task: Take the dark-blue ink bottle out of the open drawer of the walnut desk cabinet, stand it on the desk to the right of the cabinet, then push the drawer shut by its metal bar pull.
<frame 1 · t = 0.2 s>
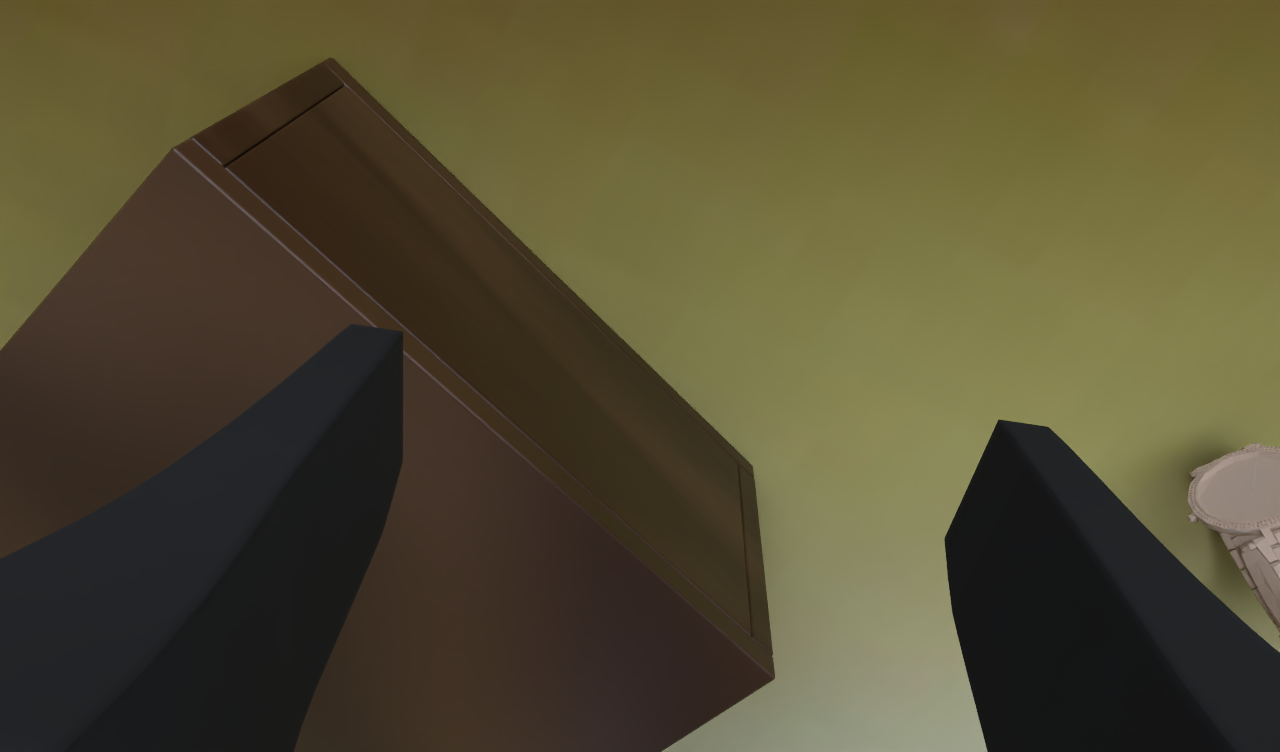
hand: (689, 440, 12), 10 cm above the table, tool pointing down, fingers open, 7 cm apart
wristwatch: (1224, 496, 25), on the table
cabinet: (360, 459, 25), on the table
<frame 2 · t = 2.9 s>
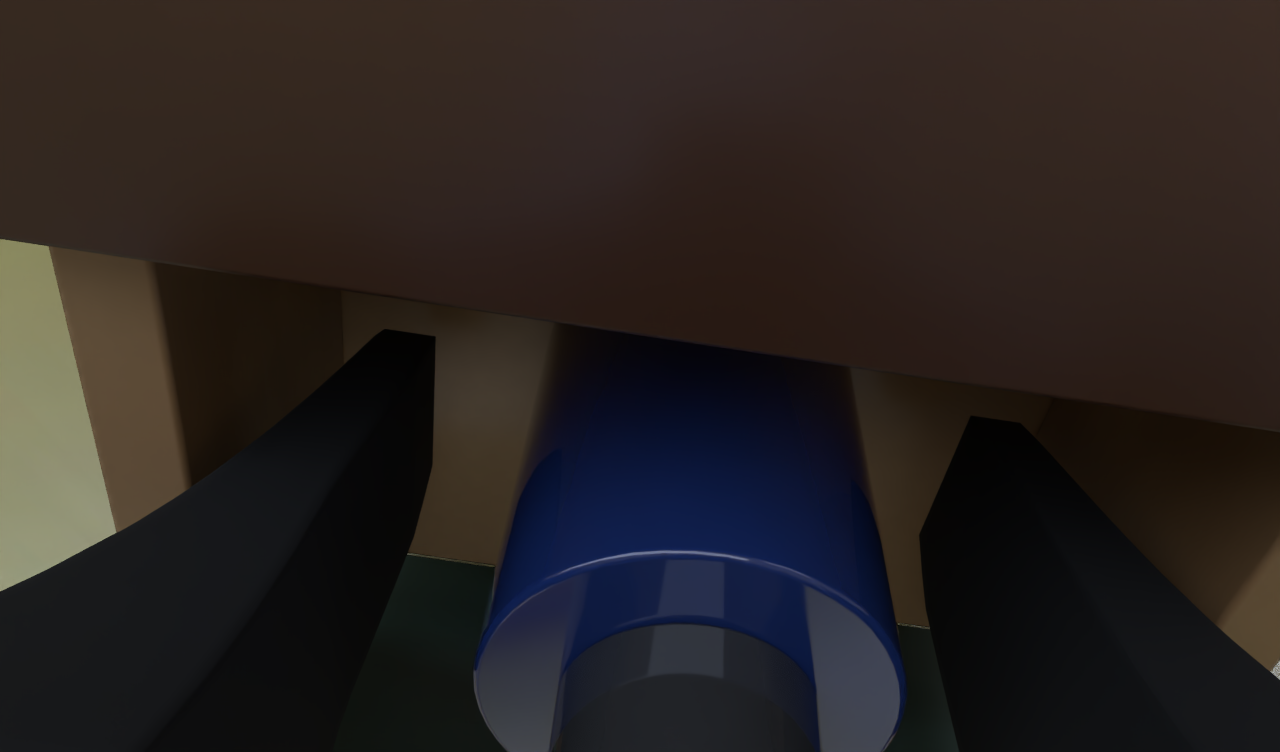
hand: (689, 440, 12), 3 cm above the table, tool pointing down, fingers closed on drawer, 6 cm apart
ink bottle: (695, 372, 14), point 2 cm above the table, touching drawer
drawer: (666, 578, 13), point 4 cm above the table, slide at 9.5 cm, touching gripper, ink bottle
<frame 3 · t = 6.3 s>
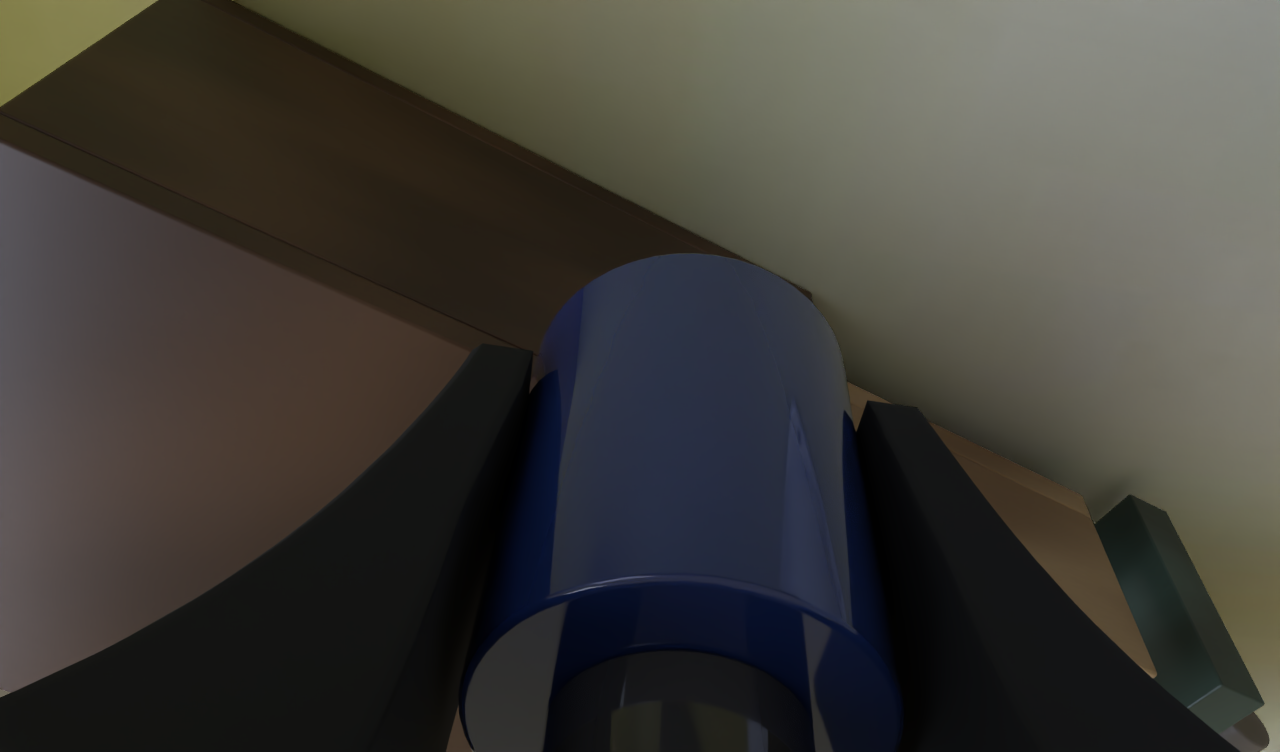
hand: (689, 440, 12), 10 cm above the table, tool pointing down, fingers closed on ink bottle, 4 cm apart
ink bottle: (689, 384, 13), point 9 cm above the table, touching gripper
cabinet: (416, 369, 25), on the table
drawer: (885, 673, 25), point 4 cm above the table, slide at 9.5 cm
when the fingers open (1 cm above the table, at t = 9.5 s): ink bottle stays where it is, on the table.
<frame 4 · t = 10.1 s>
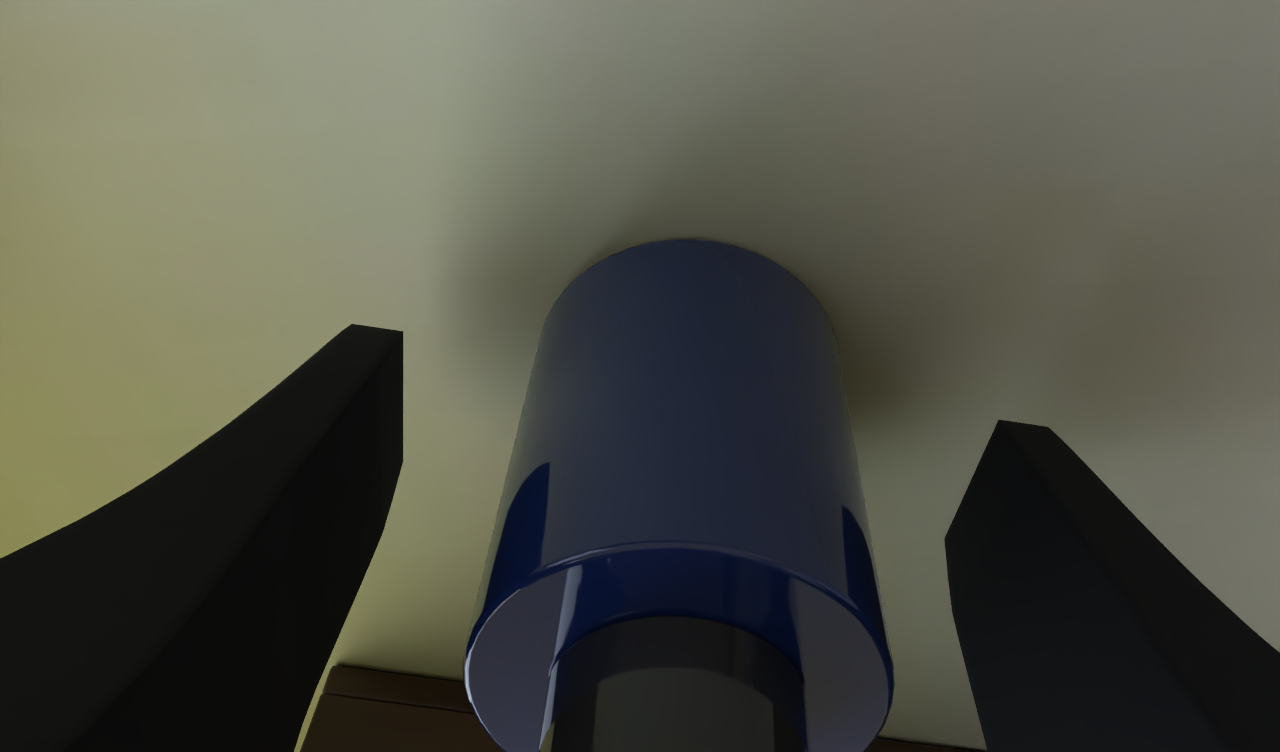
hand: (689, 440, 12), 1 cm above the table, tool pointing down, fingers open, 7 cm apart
ink bottle: (686, 368, 14), on the table
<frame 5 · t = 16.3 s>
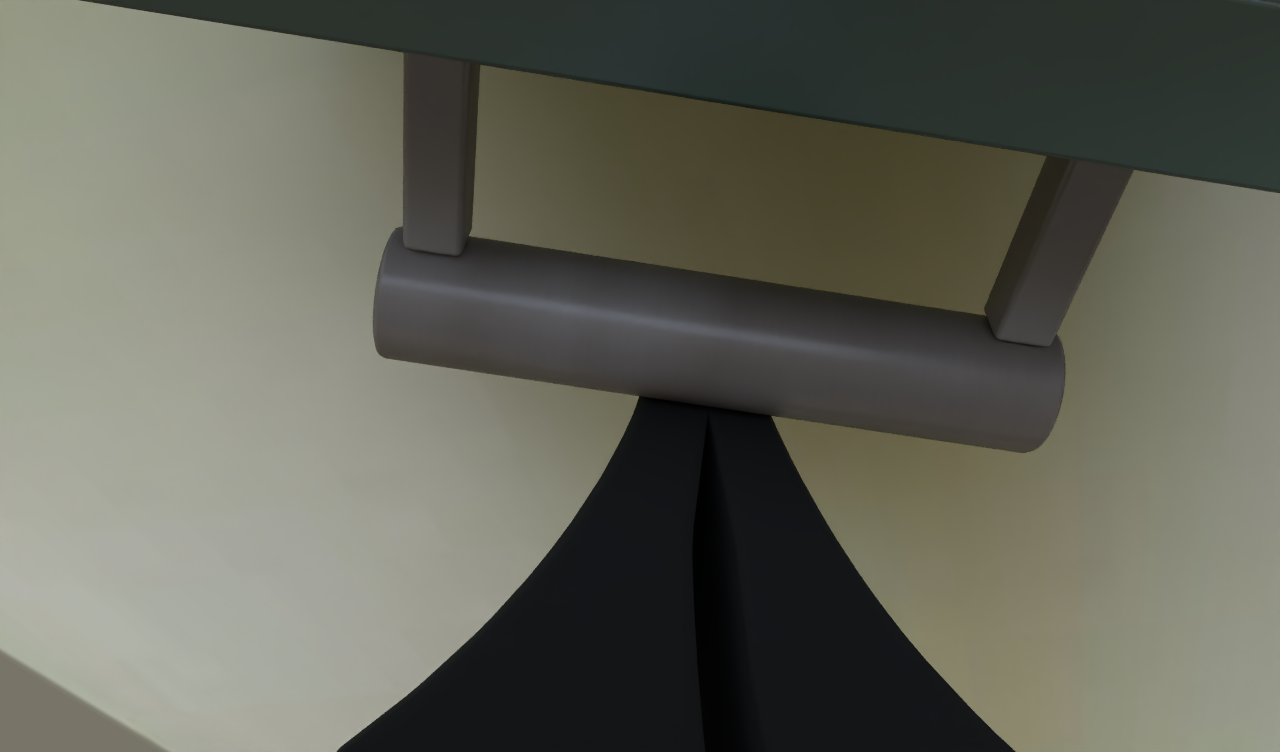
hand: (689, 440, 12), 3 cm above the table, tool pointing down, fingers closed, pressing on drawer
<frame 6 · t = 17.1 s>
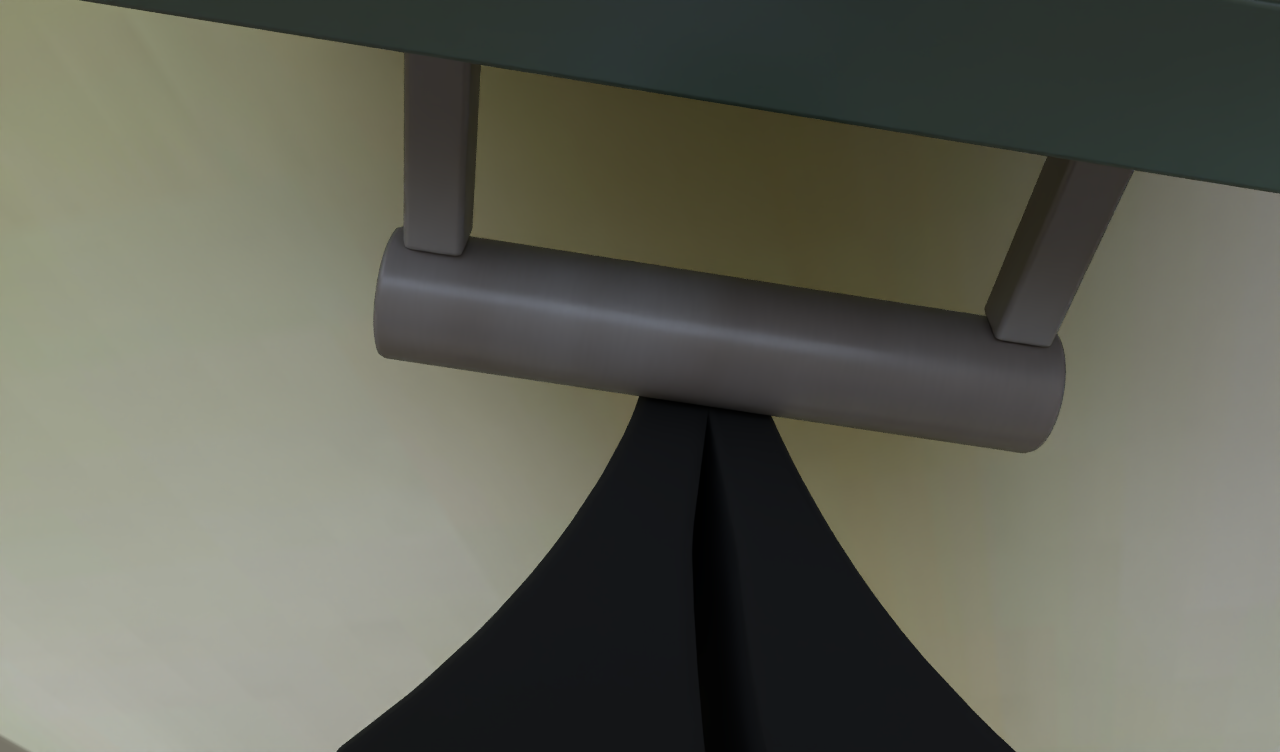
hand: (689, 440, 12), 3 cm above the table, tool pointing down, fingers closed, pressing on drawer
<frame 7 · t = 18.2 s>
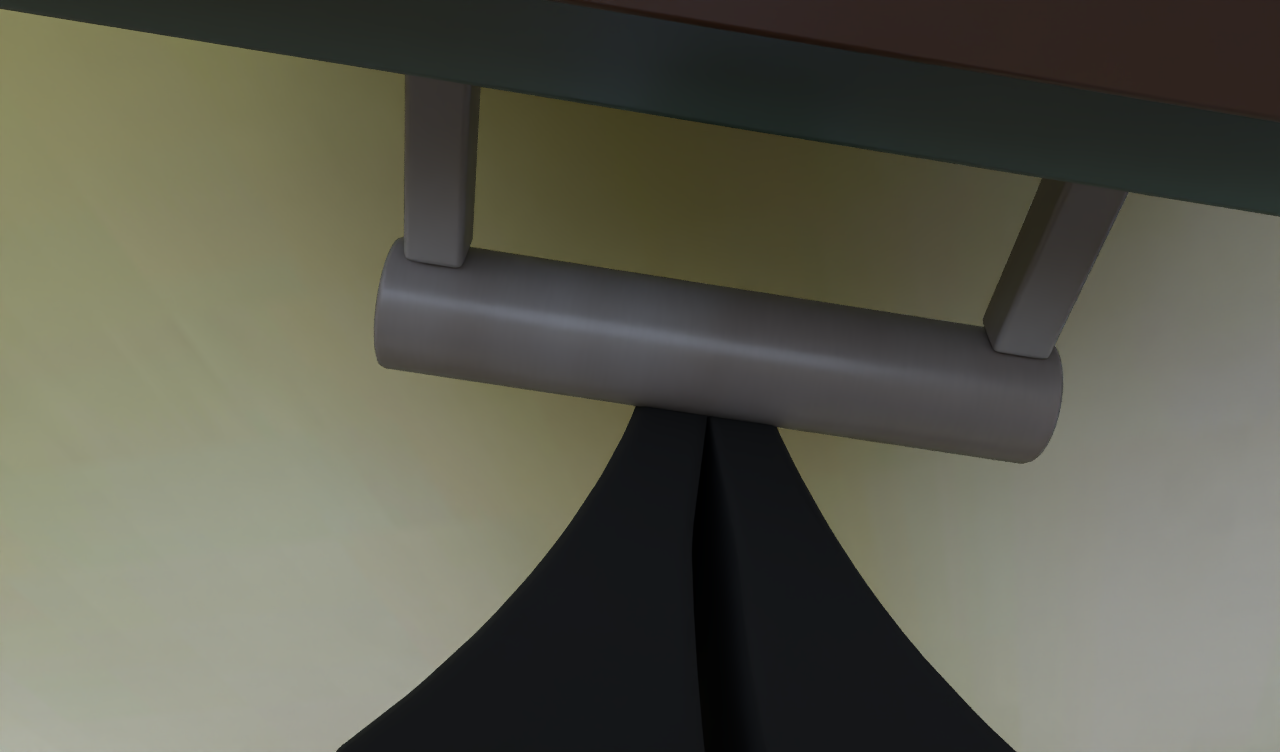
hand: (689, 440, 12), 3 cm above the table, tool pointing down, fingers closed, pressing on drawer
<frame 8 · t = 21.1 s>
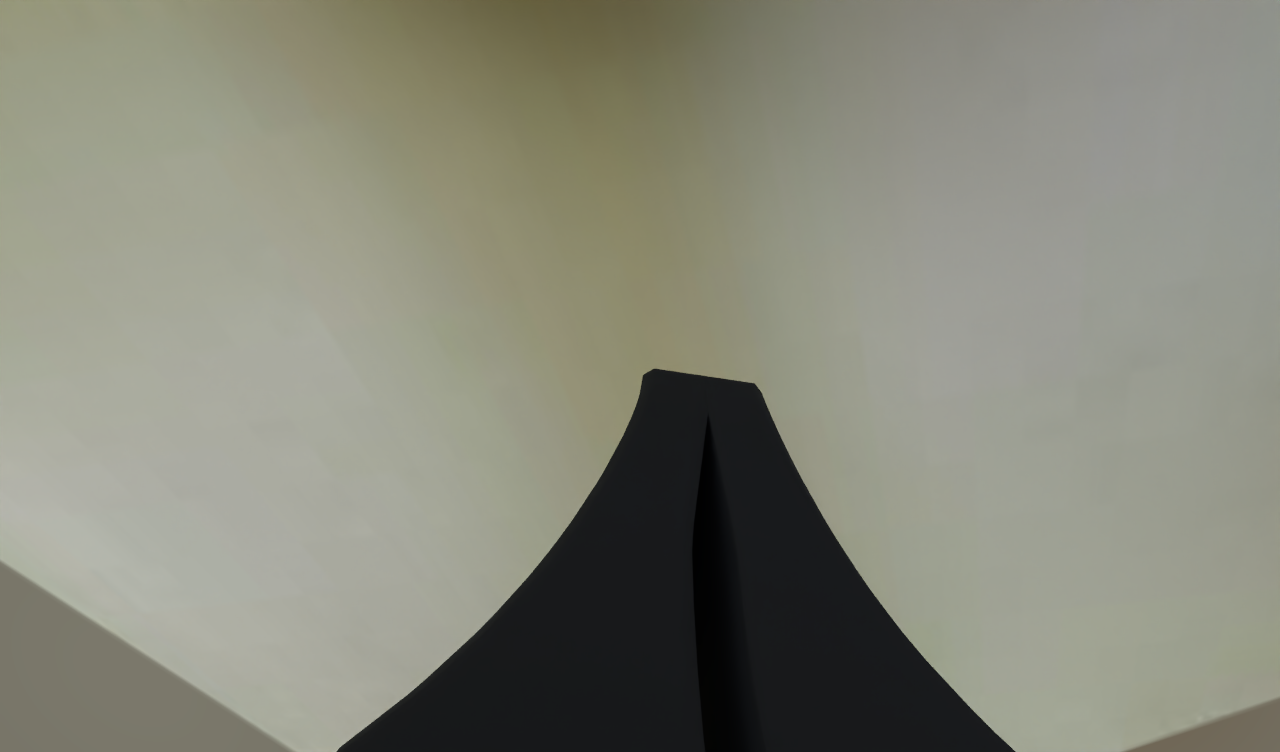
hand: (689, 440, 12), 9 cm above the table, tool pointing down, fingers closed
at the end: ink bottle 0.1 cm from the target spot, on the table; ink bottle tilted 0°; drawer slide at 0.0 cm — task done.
